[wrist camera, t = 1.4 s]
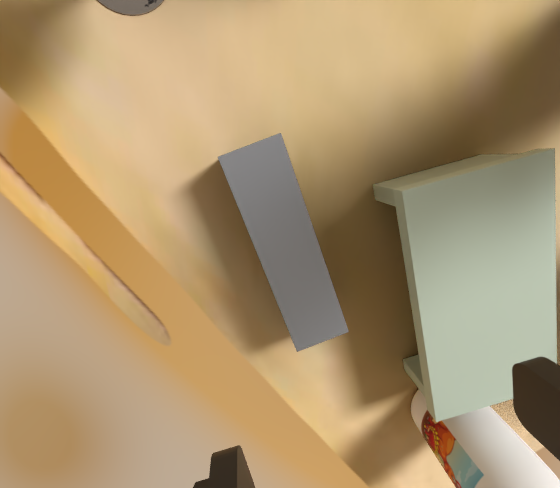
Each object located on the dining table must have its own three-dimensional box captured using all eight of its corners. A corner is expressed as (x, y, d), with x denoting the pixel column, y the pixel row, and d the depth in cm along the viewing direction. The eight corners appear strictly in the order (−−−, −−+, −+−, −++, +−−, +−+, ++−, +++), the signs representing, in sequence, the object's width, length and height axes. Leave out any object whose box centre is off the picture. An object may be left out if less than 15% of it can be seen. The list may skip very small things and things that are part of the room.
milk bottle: (428, 365, 37) (631, 597, 17) (481, 383, 38) (722, 614, 19) (397, 419, 38) (551, 685, 19) (449, 434, 40) (642, 694, 20)
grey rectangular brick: (274, 136, 29) (280, 132, 24) (334, 306, 34) (348, 331, 29) (222, 156, 29) (217, 156, 24) (289, 323, 34) (297, 351, 29)
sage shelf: (486, 150, 31) (554, 148, 24) (500, 343, 37) (557, 385, 30) (366, 183, 30) (402, 191, 24) (400, 373, 36) (436, 422, 30)
